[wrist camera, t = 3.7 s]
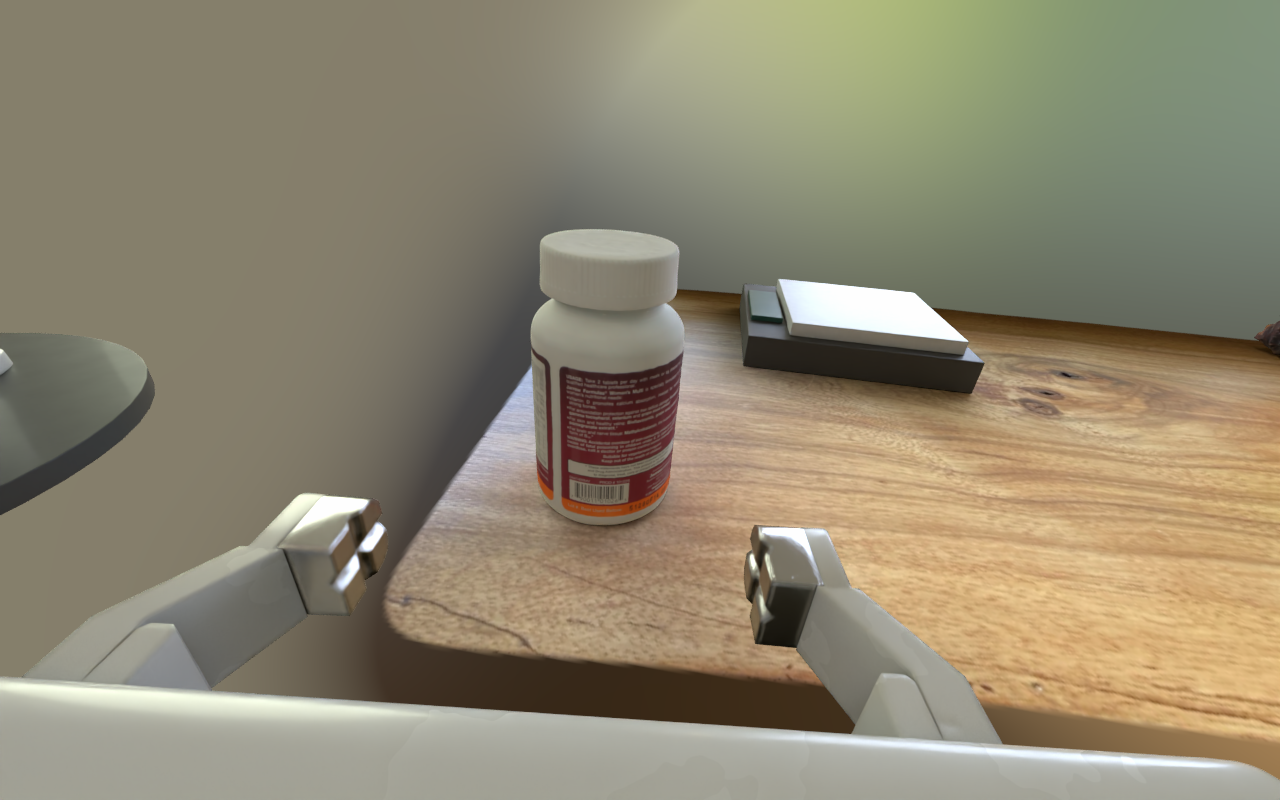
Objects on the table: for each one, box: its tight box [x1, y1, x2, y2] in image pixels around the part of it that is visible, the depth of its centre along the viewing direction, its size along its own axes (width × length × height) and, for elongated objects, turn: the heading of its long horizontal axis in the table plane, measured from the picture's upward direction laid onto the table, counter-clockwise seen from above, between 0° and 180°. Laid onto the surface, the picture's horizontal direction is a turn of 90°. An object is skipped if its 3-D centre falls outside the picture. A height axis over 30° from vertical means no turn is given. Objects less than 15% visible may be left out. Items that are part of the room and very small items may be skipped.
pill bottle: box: [531, 229, 685, 525], centre depth 21 cm, size 6×6×11 cm
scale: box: [740, 279, 984, 393], centre depth 42 cm, size 16×14×3 cm
